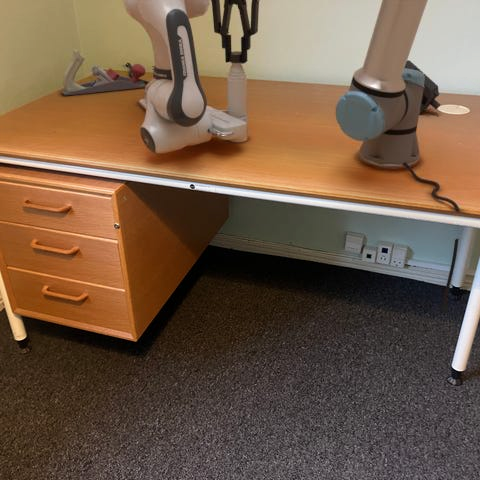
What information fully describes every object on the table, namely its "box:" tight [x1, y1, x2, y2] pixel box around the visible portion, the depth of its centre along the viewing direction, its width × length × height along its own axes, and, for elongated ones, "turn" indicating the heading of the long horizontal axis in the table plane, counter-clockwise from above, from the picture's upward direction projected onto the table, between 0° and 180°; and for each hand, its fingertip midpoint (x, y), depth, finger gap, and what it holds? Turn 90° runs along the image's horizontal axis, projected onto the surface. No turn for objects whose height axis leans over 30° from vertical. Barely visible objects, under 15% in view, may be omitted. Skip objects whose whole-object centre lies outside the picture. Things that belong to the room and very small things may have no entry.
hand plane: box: [61, 48, 146, 96], centre depth 194 cm, size 7×31×15 cm, turn 107°
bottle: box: [226, 63, 248, 143], centre depth 147 cm, size 5×5×23 cm
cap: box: [228, 50, 242, 64], centre depth 141 cm, size 4×4×2 cm
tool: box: [405, 59, 442, 114], centre depth 170 cm, size 6×19×15 cm, turn 51°
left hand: (240, 115), depth 150 cm, fingers closed on bottle, 5 cm apart
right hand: (236, 61), depth 142 cm, fingers closed on cap, 4 cm apart
